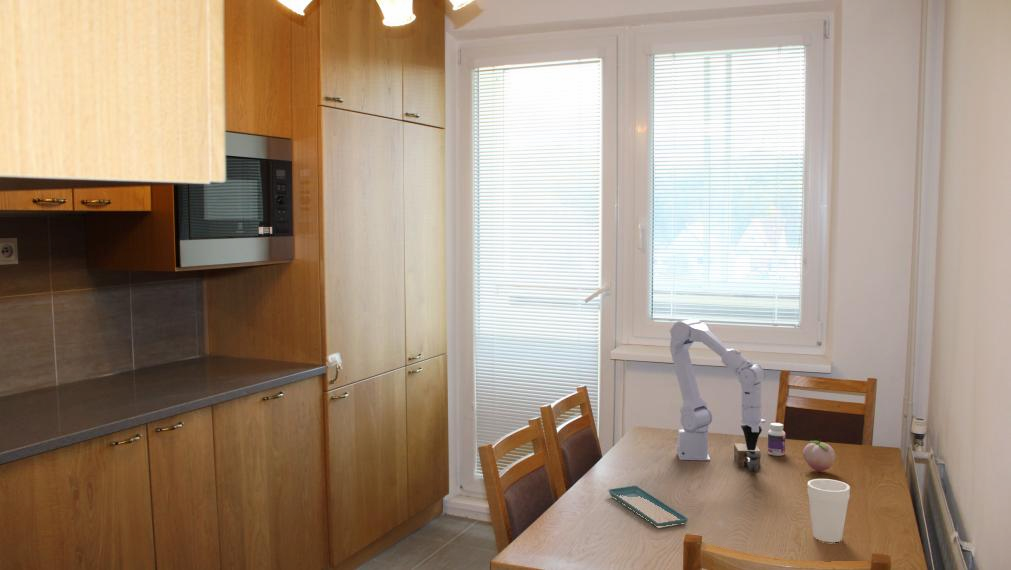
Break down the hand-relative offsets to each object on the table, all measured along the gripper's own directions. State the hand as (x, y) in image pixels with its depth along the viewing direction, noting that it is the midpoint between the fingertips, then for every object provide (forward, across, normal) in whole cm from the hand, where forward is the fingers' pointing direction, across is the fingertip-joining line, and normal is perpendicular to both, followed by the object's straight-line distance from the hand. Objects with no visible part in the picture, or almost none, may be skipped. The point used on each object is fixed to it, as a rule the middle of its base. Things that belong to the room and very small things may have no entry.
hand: (751, 449), depth 247 cm
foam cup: (+7, -52, -9) cm, 54 cm away
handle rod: (+5, +2, 0) cm, 5 cm away
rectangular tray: (+7, -37, +33) cm, 50 cm away
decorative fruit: (+6, 0, -20) cm, 21 cm away
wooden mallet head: (+6, +7, 0) cm, 9 cm away
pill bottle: (+6, +18, -11) cm, 22 cm away
